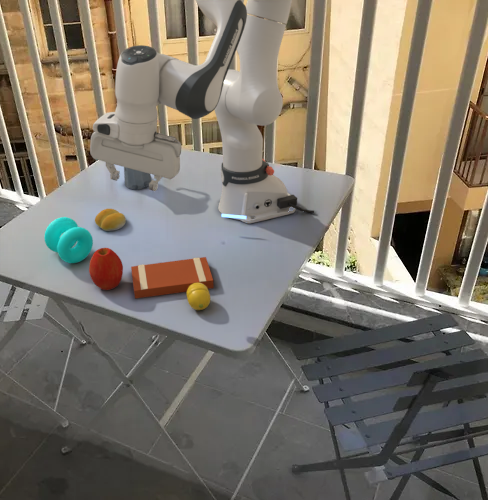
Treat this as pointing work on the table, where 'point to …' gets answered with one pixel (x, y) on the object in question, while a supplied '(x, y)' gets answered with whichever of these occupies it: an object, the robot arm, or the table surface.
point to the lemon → (198, 296)
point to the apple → (106, 269)
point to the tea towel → (170, 277)
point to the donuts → (68, 240)
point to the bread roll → (110, 220)
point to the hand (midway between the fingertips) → (133, 184)
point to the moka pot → (136, 178)
